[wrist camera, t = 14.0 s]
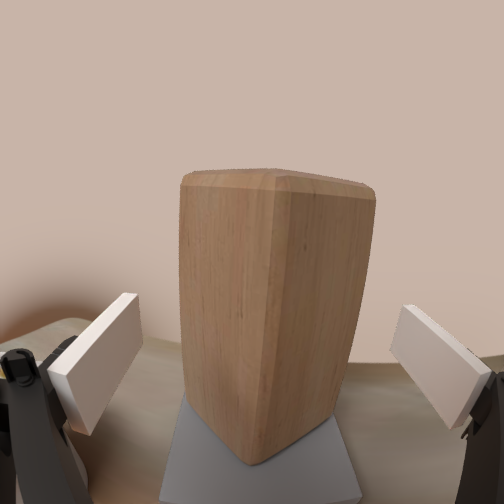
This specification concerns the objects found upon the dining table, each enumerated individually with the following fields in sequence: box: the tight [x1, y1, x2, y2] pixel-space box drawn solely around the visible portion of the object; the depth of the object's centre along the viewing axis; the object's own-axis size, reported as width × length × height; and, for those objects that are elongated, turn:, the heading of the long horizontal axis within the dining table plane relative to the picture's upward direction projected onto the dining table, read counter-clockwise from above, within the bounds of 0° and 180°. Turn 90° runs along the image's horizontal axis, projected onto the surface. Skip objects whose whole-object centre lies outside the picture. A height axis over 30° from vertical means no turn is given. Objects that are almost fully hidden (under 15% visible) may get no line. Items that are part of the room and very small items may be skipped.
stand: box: [159, 392, 363, 504], centre depth 20 cm, size 14×14×2 cm
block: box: [179, 169, 376, 466], centre depth 20 cm, size 10×10×20 cm
